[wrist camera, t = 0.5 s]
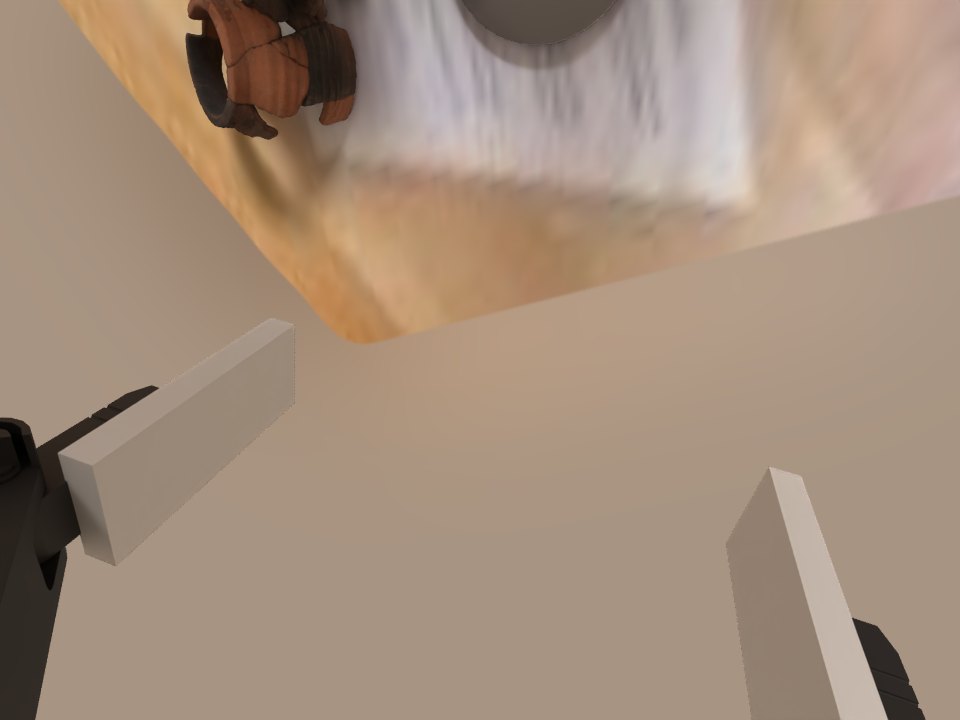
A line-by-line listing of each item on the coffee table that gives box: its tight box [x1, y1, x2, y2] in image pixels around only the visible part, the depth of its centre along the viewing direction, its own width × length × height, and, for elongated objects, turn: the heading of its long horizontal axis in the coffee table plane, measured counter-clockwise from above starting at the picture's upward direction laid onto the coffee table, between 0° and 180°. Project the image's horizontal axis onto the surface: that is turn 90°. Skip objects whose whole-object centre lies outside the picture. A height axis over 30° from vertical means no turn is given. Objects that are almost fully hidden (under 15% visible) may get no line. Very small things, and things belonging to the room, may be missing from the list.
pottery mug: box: [186, 0, 357, 140], centre depth 35 cm, size 12×10×8 cm
